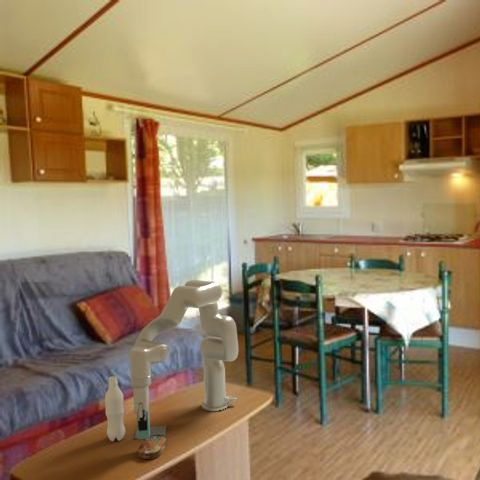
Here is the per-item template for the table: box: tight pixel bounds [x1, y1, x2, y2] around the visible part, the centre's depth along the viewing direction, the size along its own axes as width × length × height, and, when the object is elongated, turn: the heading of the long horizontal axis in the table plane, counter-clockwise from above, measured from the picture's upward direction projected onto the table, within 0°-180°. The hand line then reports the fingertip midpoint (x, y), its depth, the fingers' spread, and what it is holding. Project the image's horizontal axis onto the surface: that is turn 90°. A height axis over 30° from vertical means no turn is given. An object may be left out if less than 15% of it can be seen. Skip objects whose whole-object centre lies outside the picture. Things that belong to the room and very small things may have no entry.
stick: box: [136, 406, 151, 440], centre depth 199 cm, size 4×4×14 cm
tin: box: [138, 434, 168, 460], centre depth 200 cm, size 15×3×8 cm
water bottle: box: [104, 375, 126, 442], centre depth 209 cm, size 7×7×25 cm
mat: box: [134, 425, 167, 440], centre depth 214 cm, size 12×9×1 cm
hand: (143, 426), depth 199 cm, fingers closed on stick, 4 cm apart
